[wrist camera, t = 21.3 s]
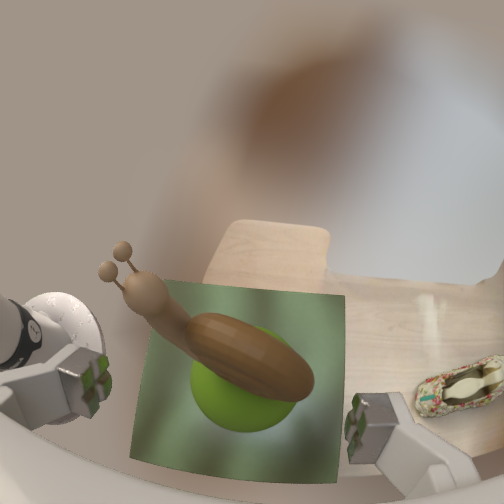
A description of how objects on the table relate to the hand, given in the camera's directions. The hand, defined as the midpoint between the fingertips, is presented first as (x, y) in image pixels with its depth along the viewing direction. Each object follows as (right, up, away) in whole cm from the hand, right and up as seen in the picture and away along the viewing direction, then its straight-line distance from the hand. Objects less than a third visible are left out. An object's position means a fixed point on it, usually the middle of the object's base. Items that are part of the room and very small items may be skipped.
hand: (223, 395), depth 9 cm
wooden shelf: (+1, -19, +33) cm, 38 cm away
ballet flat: (+39, -20, +32) cm, 54 cm away
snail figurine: (0, -3, +8) cm, 8 cm away
